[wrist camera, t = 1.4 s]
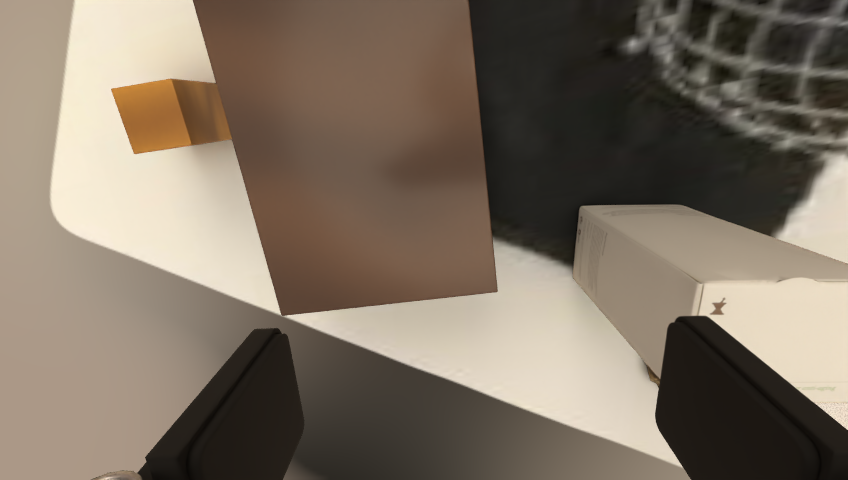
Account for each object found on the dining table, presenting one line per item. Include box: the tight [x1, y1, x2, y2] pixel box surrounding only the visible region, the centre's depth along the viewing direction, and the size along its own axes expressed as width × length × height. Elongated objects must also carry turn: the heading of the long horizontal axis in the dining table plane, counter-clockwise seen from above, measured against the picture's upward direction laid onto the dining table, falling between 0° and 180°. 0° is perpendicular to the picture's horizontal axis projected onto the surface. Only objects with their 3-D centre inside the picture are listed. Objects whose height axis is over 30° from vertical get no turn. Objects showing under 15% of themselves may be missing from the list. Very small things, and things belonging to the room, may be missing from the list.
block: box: [111, 79, 232, 154], centre depth 28 cm, size 4×4×6 cm
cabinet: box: [193, 0, 498, 316], centre depth 28 cm, size 20×15×8 cm
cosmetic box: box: [573, 205, 848, 403], centre depth 25 cm, size 8×7×16 cm
